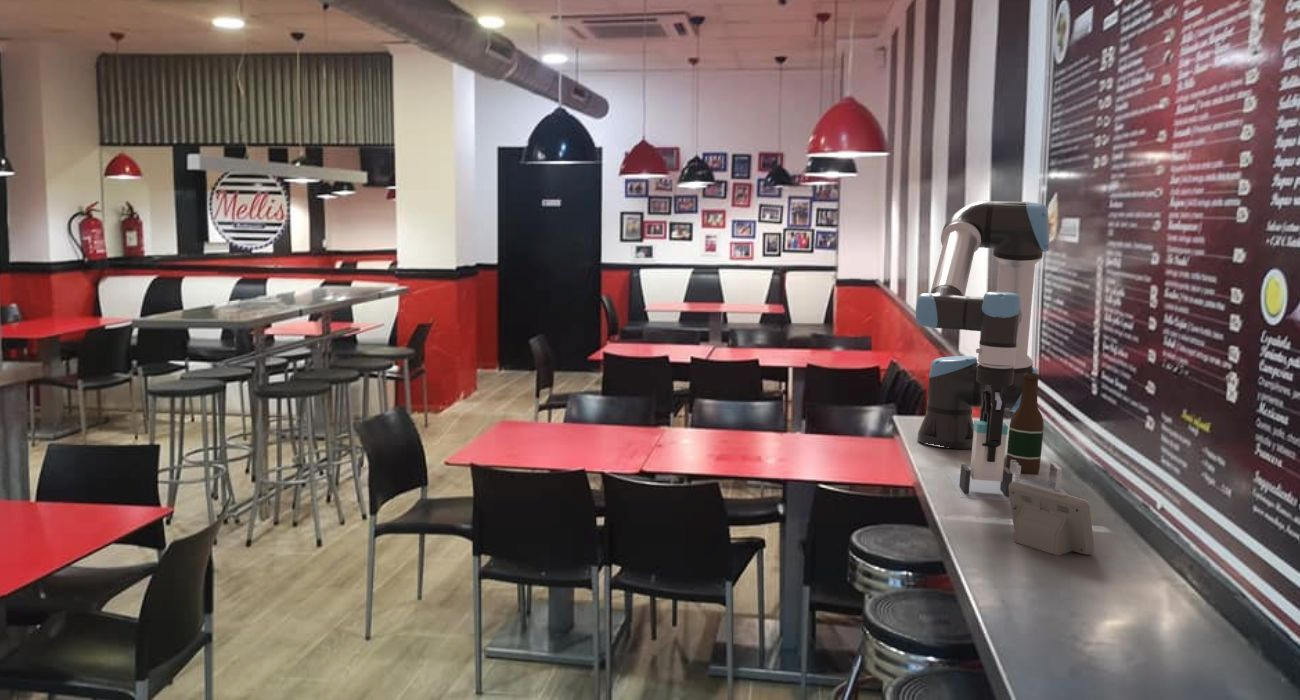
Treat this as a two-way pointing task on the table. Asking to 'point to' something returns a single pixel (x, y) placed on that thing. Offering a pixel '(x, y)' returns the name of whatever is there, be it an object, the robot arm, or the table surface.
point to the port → (1053, 475)
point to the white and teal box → (978, 451)
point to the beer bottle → (1026, 429)
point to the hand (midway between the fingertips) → (986, 472)
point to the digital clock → (1050, 520)
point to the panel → (991, 488)
